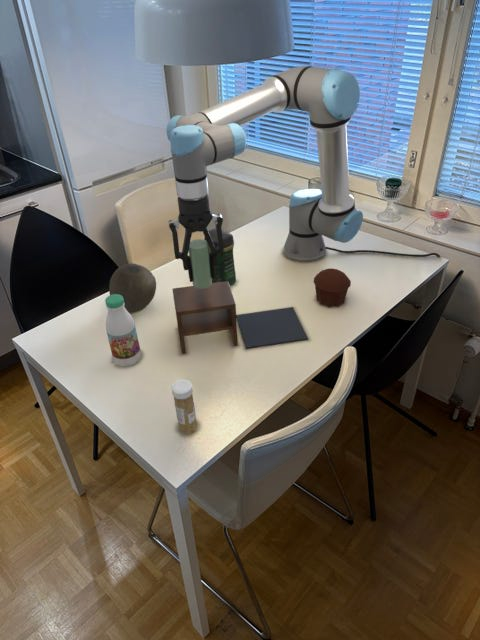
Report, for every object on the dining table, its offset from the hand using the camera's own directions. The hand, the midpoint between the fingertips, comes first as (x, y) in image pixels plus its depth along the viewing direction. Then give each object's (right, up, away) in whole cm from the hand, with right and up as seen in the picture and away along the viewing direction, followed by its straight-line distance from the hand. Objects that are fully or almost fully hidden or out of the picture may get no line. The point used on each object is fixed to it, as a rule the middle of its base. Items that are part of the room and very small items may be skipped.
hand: (201, 277), depth 132 cm
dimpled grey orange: (-23, -8, +25) cm, 35 cm away
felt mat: (+19, -14, +14) cm, 28 cm away
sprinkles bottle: (-2, -37, -15) cm, 40 cm away
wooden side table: (+1, -16, +12) cm, 20 cm away
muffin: (+39, -5, +25) cm, 47 cm away
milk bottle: (-21, -22, +6) cm, 31 cm away
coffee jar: (+4, +1, +36) cm, 36 cm away
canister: (0, -2, +1) cm, 2 cm away
